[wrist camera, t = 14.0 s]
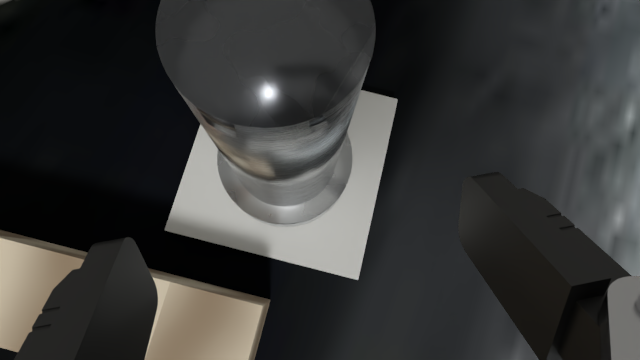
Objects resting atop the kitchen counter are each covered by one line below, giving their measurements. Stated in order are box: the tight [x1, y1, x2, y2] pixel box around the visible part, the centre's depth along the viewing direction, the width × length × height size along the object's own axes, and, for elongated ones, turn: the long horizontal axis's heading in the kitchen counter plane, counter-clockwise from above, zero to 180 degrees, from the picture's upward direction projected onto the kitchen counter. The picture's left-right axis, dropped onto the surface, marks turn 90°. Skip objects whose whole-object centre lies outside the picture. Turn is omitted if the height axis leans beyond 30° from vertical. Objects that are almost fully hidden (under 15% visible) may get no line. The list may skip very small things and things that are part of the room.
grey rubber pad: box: [165, 90, 398, 280], centre depth 21 cm, size 10×10×1 cm
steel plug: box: [156, 0, 376, 227], centre depth 15 cm, size 7×7×12 cm
